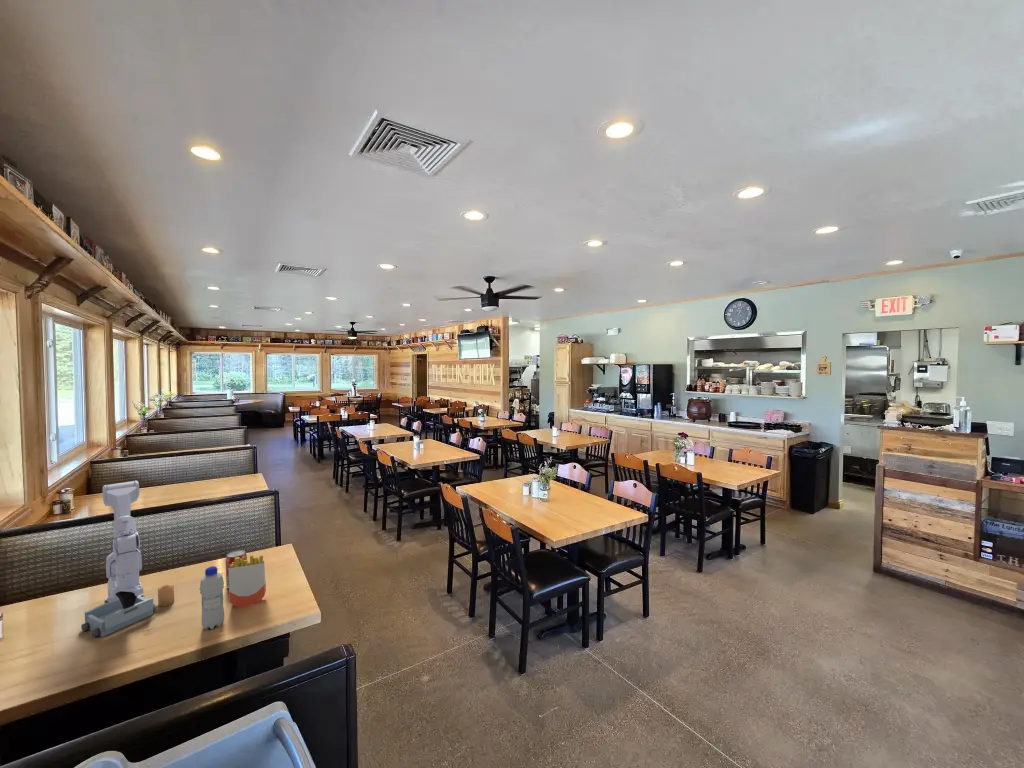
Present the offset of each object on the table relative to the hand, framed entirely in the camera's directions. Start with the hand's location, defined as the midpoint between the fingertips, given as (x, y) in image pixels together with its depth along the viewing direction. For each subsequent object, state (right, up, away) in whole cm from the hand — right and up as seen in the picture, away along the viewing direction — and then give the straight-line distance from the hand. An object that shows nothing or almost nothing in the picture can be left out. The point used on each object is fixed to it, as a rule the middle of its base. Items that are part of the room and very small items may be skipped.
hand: (129, 611), depth 145 cm
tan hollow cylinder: (+1, -4, +14) cm, 15 cm away
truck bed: (-6, -5, +3) cm, 8 cm away
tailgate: (0, -2, 0) cm, 2 cm away
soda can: (+19, -4, +27) cm, 33 cm away
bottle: (+28, -5, 0) cm, 28 cm away
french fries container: (+31, -5, +14) cm, 35 cm away
